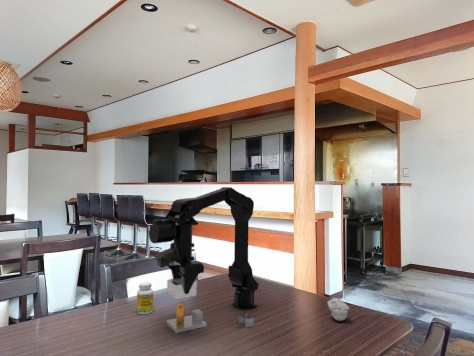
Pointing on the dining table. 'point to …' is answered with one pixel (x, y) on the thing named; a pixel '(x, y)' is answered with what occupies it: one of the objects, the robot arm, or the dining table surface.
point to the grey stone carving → (338, 309)
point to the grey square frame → (179, 288)
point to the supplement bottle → (145, 298)
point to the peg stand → (186, 320)
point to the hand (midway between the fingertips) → (181, 290)
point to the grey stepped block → (245, 321)
